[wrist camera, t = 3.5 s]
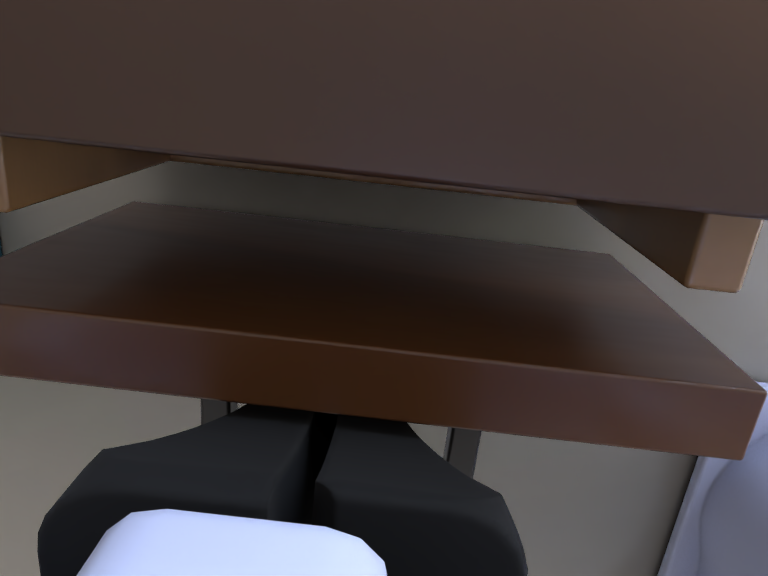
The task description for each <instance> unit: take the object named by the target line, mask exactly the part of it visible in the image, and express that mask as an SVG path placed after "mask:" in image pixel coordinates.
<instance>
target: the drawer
mask: <svg viewBox="0 0 768 576" xmlns="http://www.w3.org/2000/svg"><path fill="white" fill-rule="evenodd" d="M168 161H176V162H185V163H194V164H203V165H212V166H221V167H231V168H240V169H249V170H258V171H267V172H276V173H285V174H294V175H303V176H313V177H322V178H331V179H340V180H349V181H358V182H367V183H376V184H385V185H395V186H404V187H413V188H422V189H431V190H440V191H449V192H458V193H467V194H477V195H486V196H495V197H504V198H513V199H522V200H531V201H540V202H549V203H559V204H568V205H577V206H578V207H580V208H581V209H582V210H583V211H585V212H586V213H587V214H589V215H590V216H591V217H593V218H594V219H595V220H597V221H598V222H599V223H601V224H602V225H603V226H605V227H606V228H607V229H609V230H610V231H611V232H613V233H614V234H615V235H617V236H618V237H619V238H621V239H622V240H623V241H625V242H626V243H627V244H629V245H630V246H631V247H633V248H634V249H635V250H637V251H638V252H639V253H641V254H642V255H643V256H645V257H646V258H647V259H649V260H650V261H651V262H653V263H654V264H655V265H657V266H658V267H659V268H661V269H662V270H663V271H665V272H666V273H667V274H669V275H670V276H671V277H673V278H674V279H675V280H677V281H678V282H679V283H681V284H682V285H683V286H685V287H687V288H692V289H701V290H710V291H719V292H728V293H735V292H739V291H740V289H741V288H742V285H743V282H744V279H745V276H746V273H747V270H748V267H749V264H750V261H751V258H752V255H753V252H754V249H755V246H756V243H757V240H758V237H759V234H760V231H761V228H762V225H763V222H764V220H761V219H752V218H743V217H734V216H725V215H716V214H707V213H698V212H688V211H679V210H670V209H661V208H652V207H643V206H634V205H625V204H615V203H606V202H597V201H588V200H579V199H570V198H561V197H552V196H542V195H533V194H524V193H515V192H506V191H497V190H488V189H479V188H470V187H460V186H451V185H442V184H433V183H424V182H415V181H406V180H397V179H387V178H378V177H369V176H360V175H351V174H342V173H333V172H324V171H314V170H305V169H296V168H287V167H278V166H269V165H260V164H251V163H241V162H232V161H223V160H214V159H205V158H196V157H187V156H178V155H168V154H159V153H150V152H141V151H132V150H123V149H114V148H105V147H96V146H86V145H77V144H68V143H59V142H50V141H41V140H32V139H23V138H13V137H4V136H0V212H5V213H7V212H10V211H14V210H17V209H20V208H23V207H26V206H29V205H32V204H36V203H39V202H42V201H45V200H48V199H51V198H55V197H58V196H61V195H64V194H67V193H70V192H73V191H77V190H80V189H83V188H86V187H89V186H92V185H96V184H99V183H102V182H105V181H108V180H111V179H115V178H118V177H121V176H124V175H127V174H130V173H133V172H137V171H140V170H143V169H146V168H149V167H152V166H156V165H159V164H162V163H165V162H168ZM0 376H9V377H18V378H26V379H35V380H44V381H52V382H61V383H70V384H78V385H87V386H96V387H104V388H113V389H122V390H130V391H139V392H148V393H156V394H165V395H174V396H183V397H191V398H200V399H201V425H203V424H205V423H208V422H210V421H213V420H215V419H217V418H220V417H222V416H225V415H227V414H229V413H231V412H233V411H235V410H237V403H243V404H252V405H261V406H269V407H278V408H287V409H295V410H304V411H313V412H321V413H330V414H339V415H348V416H356V417H365V418H374V419H382V420H391V421H400V422H408V423H417V424H426V425H434V426H443V427H448V431H447V437H446V443H445V450H444V456H443V459H444V460H445V461H447V462H448V463H449V464H451V465H452V466H454V467H455V468H457V469H458V470H459V471H461V472H462V473H464V474H465V475H467V476H468V477H470V478H472V479H473V475H474V470H475V464H476V459H477V453H478V448H479V443H480V437H481V432H482V431H486V432H495V433H504V434H513V435H521V436H530V437H539V438H547V439H556V440H565V441H573V442H582V443H591V444H599V445H608V446H617V447H625V448H634V449H643V450H651V451H660V452H669V453H678V454H686V455H695V456H704V457H712V458H721V459H730V460H738V461H740V460H742V459H743V458H744V456H745V453H746V450H747V448H748V445H749V442H750V440H751V437H752V434H753V432H754V429H755V426H756V424H757V421H758V418H759V416H760V413H761V411H762V408H763V405H764V403H765V400H766V397H767V391H766V390H765V389H764V388H763V387H761V386H760V385H759V384H758V383H757V382H756V381H754V380H753V379H752V378H751V377H750V376H749V375H748V374H746V373H745V372H744V371H743V370H742V369H741V368H740V367H738V366H737V365H736V364H735V363H734V362H733V361H732V360H730V359H729V358H728V357H727V356H726V355H725V354H724V353H722V352H721V351H720V350H719V349H718V348H717V347H716V346H714V345H713V344H712V343H711V342H710V341H709V340H708V339H706V338H705V337H704V336H703V335H702V334H701V333H700V332H698V331H697V330H696V329H695V328H694V327H693V326H692V325H690V324H689V323H688V322H687V321H686V320H685V319H684V318H682V317H681V316H680V315H679V314H678V313H677V312H676V311H674V310H673V309H672V308H671V307H670V306H669V305H667V304H666V303H665V302H664V301H663V300H662V299H661V298H659V297H658V296H657V295H656V294H655V293H654V292H653V291H651V290H650V289H649V288H648V287H647V286H646V285H645V284H643V283H642V282H641V281H640V280H639V279H638V278H637V277H635V276H634V275H633V274H632V273H631V272H630V271H629V270H627V269H626V268H625V267H624V266H623V265H622V264H621V263H619V262H618V261H617V260H616V259H615V258H614V257H613V256H611V255H610V254H605V253H596V252H587V251H578V250H569V249H560V248H551V247H542V246H533V245H524V244H515V243H506V242H497V241H488V240H479V239H469V238H460V237H451V236H442V235H433V234H424V233H415V232H406V231H397V230H388V229H379V228H370V227H361V226H352V225H343V224H334V223H325V222H316V221H307V220H298V219H289V218H280V217H271V216H262V215H253V214H244V213H235V212H226V211H217V210H208V209H199V208H190V207H181V206H172V205H163V204H154V203H145V202H136V201H133V202H131V203H128V204H126V205H123V206H121V207H119V208H116V209H114V210H112V211H109V212H107V213H104V214H102V215H100V216H97V217H95V218H92V219H90V220H88V221H85V222H83V223H81V224H78V225H76V226H73V227H71V228H69V229H66V230H64V231H62V232H59V233H57V234H54V235H52V236H50V237H47V238H45V239H42V240H40V241H38V242H35V243H33V244H31V245H28V246H26V247H23V248H21V249H19V250H16V251H14V252H11V253H9V254H7V255H4V256H2V257H0Z"/></svg>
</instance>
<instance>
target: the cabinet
mask: <svg viewBox="0 0 768 576" xmlns="http://www.w3.org/2000/svg"><path fill="white" fill-rule="evenodd" d="M0 136H4V137H13V138H23V139H32V140H41V141H50V142H59V143H68V144H77V145H86V146H96V147H105V148H114V149H123V150H132V151H141V152H150V153H159V154H168V155H178V156H187V157H196V158H205V159H214V160H223V161H232V162H241V163H251V164H260V165H269V166H278V167H287V168H296V169H305V170H314V171H324V172H333V173H342V174H351V175H360V176H369V177H378V178H387V179H397V180H406V181H415V182H424V183H433V184H442V185H451V186H460V187H470V188H479V189H488V190H497V191H506V192H515V193H524V194H533V195H542V196H552V197H561V198H570V199H579V200H588V201H597V202H606V203H615V204H625V205H634V206H643V207H652V208H661V209H670V210H679V211H688V212H698V213H707V214H716V215H725V216H734V217H743V218H752V219H761V220H768V0H0Z"/></svg>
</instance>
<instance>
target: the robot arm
mask: <svg viewBox="0 0 768 576" xmlns="http://www.w3.org/2000/svg"><path fill="white" fill-rule="evenodd" d="M757 383H758V384H759V385H760V386H761V387H763V388H764V389H765V390H766V391H767V397H766V400H765V403H764V405H763V408H762V411H761V413H760V416H759V418H758V421H757V424H756V426H755V429H754V432H753V434H752V437H751V440H750V442H749V445H748V448H747V450H746V453H745V456H744V458H743V459H742V460H740V461H738V460H730V459H721V458H712V457H704V456H698V459H697V462H696V465H695V468H694V471H693V474H692V477H691V479H690V482H689V485H688V488H687V491H686V494H685V497H684V500H683V503H682V506H681V509H680V511H679V514H678V517H677V520H676V523H675V526H674V529H673V532H672V535H671V538H670V541H669V543H668V546H667V549H666V552H665V555H664V558H663V561H662V564H661V567H660V570H659V573H658V575H657V576H768V383H764V382H757ZM38 559H39V566H40V573H41V576H527V574H528V568H527V564H526V558H525V553H524V549H523V546H522V543H521V540H520V536H519V534H518V531H517V529H516V526H515V524H514V521H513V519H512V517H511V514H510V512H509V510H508V508H507V505H506V503H505V501H504V499H503V497H502V495H501V494H500V493H498V492H496V491H494V490H492V489H491V488H489V487H487V486H485V485H483V484H481V483H479V482H477V481H476V480H474V479H472V478H470V477H468V476H467V475H465V474H464V473H462V472H461V471H459V470H458V469H457V468H455V467H454V466H452V465H451V464H449V463H448V462H447V461H445V460H444V459H443V458H442V457H440V456H439V455H438V454H437V453H436V452H435V451H433V450H432V449H431V448H430V447H429V446H428V445H427V444H426V443H425V442H424V441H423V440H422V439H421V438H420V437H419V436H418V435H417V434H416V433H415V432H414V431H413V430H412V428H411V427H410V426H409V424H408V423H407V422H400V421H391V420H382V419H374V418H365V417H356V416H348V415H339V414H330V413H321V412H313V411H304V410H295V409H287V408H278V407H269V406H261V405H252V404H247V405H245V406H243V407H241V408H239V409H237V410H235V411H233V412H231V413H229V414H227V415H225V416H222V417H220V418H217V419H215V420H213V421H210V422H208V423H205V424H203V425H200V426H198V427H195V428H192V429H189V430H186V431H183V432H180V433H177V434H173V435H170V436H166V437H163V438H159V439H155V440H151V441H146V442H141V443H136V444H131V445H125V446H120V447H115V448H109V449H103V450H102V451H101V452H100V453H99V454H98V455H97V456H96V457H95V458H94V459H93V460H92V461H91V462H90V463H89V464H88V465H87V466H86V467H85V468H84V469H83V470H82V472H81V473H80V474H79V475H78V476H77V477H76V479H75V480H74V481H73V482H72V483H71V485H70V486H69V487H68V488H67V490H66V491H65V492H64V493H63V494H62V496H61V497H60V498H59V499H58V500H57V502H56V503H55V504H54V505H53V507H52V508H51V509H50V510H49V511H48V513H47V514H46V515H45V517H44V520H43V522H42V524H41V527H40V529H39V532H38Z"/></svg>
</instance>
